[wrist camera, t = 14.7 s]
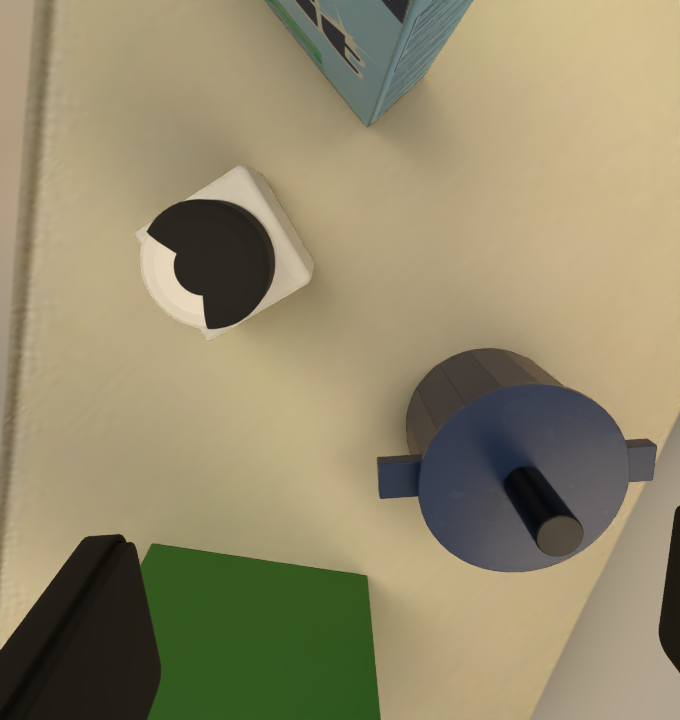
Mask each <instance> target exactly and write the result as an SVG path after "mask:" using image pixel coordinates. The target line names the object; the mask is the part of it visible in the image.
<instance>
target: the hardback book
mask: <svg viewBox="0 0 680 720" xmlns="http://www.w3.org/2000/svg"><path fill="white" fill-rule="evenodd" d="M140 568H141V573H142V577H143V582H144V587H145V591H146V596H147V601H148V605H149V610H150V615H151V619H152V624H153V629H154V633H155V638H156V643H157V647H158V652H159V657H160V661H161V679H160V684H159V688H158V691H157V694H156V696H155V699H154V702H153V705H152V708H151V710H150V713H149V716H148V719H147V720H381V719H380V708H379V698H378V687H377V676H376V665H375V655H374V644H373V633H372V623H371V612H370V601H369V590H368V580H367V576H364V575H357V574H351V573H344V572H337V571H331V570H324V569H318V568H311V567H304V566H298V565H291V564H284V563H278V562H271V561H264V560H258V559H251V558H244V557H238V556H231V555H225V554H218V553H211V552H205V551H198V550H191V549H185V548H178V547H171V546H165V545H158V544H152V545H151V547H150V549H149V551H148V553H147V555H146V557H145V558H144V560H143V562H142V564H141V566H140Z"/></svg>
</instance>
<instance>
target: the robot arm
mask: <svg viewBox="0 0 680 720" xmlns="http://www.w3.org/2000/svg"><path fill="white" fill-rule="evenodd" d="M659 638H660V642H661V645H662V647H663V650H664V652H665V653H666V655H667V656H668V658H669V659H670V660H671V662H672V663H673V664H674V666H675V667H676V668H677V670H678V671H679V673H680V506H678V507H677V508H676V511H675V515H674V522H673V529H672V536H671V543H670V551H669V559H668V566H667V572H666V580H665V587H664V594H663V602H662V609H661V616H660V624H659ZM160 679H161V661H160V657H159V652H158V647H157V643H156V638H155V633H154V629H153V624H152V619H151V615H150V610H149V605H148V601H147V596H146V591H145V587H144V582H143V577H142V573H141V568H140V563H139V559H138V554H137V550H136V547H135V545H134V543H132V542H126V540H125V538H124V537H123V535H120V534H115V535H100V536H88V537H85V538H84V539H83V540H82V541H81V542H80V544H79V545H78V546H77V548H76V549H75V551H74V552H73V553H72V555H71V556H70V557H69V559H68V560H67V561H66V563H65V564H64V565H63V567H62V568H61V569H60V571H59V572H58V573H57V575H56V576H55V577H54V579H53V580H52V582H51V583H50V584H49V586H48V587H47V588H46V590H45V591H44V592H43V594H42V595H41V596H40V598H39V599H38V600H37V602H36V603H35V604H34V606H33V607H32V608H31V610H30V611H29V612H28V614H27V615H26V617H25V618H24V619H23V621H22V622H21V623H20V625H19V626H18V627H17V629H16V630H15V631H14V633H13V634H12V635H11V637H10V638H9V639H8V641H7V642H6V643H5V645H4V646H3V648H2V649H1V650H0V720H147V719H148V716H149V713H150V710H151V708H152V705H153V702H154V699H155V696H156V694H157V691H158V688H159V684H160Z"/></svg>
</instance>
